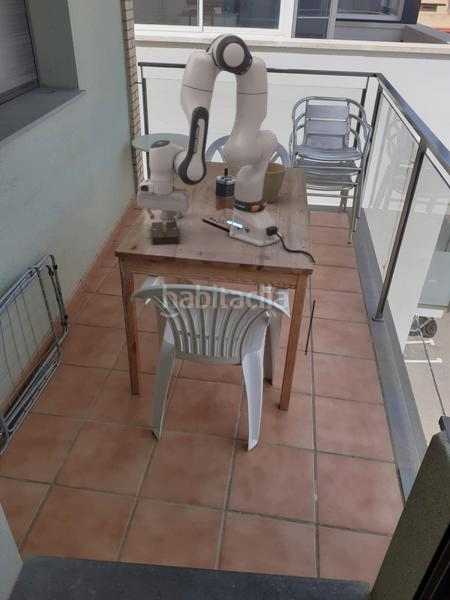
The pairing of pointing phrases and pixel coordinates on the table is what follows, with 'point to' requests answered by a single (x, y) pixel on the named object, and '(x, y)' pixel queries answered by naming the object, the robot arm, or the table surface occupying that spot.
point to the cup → (169, 214)
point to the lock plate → (164, 233)
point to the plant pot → (273, 181)
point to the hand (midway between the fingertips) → (163, 219)
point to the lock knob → (164, 225)
